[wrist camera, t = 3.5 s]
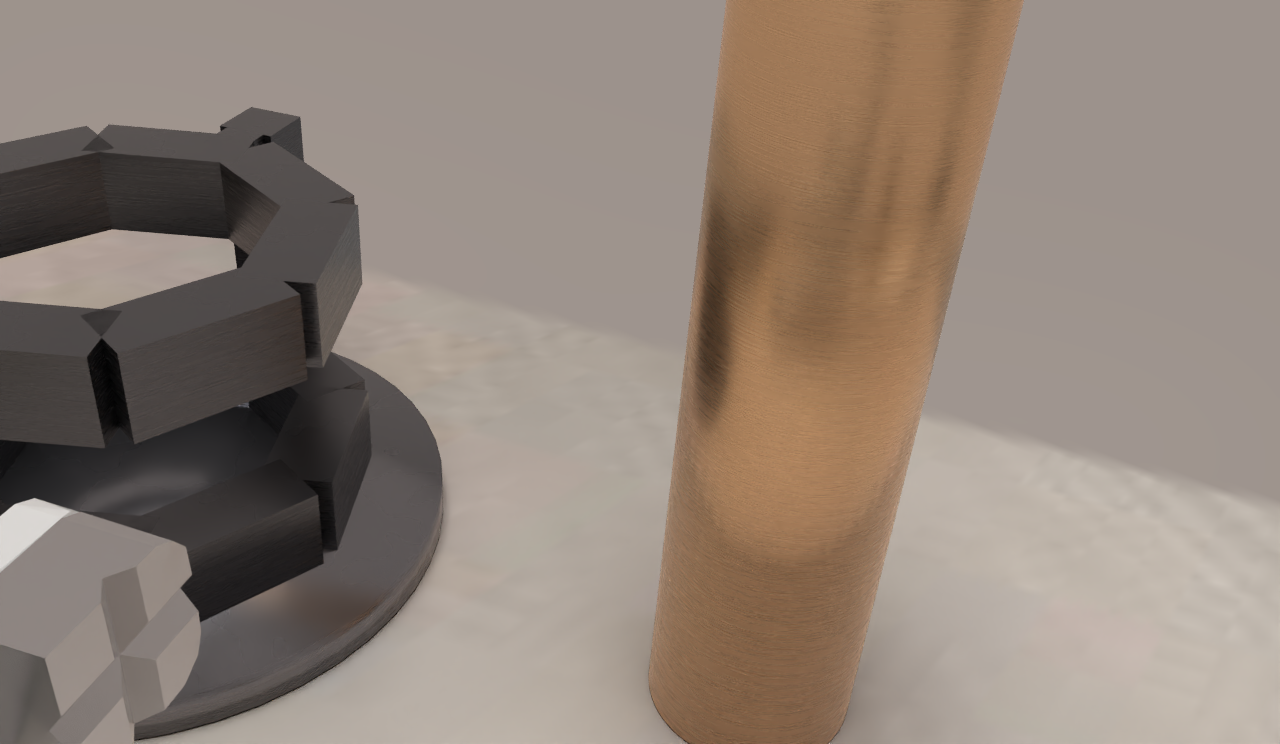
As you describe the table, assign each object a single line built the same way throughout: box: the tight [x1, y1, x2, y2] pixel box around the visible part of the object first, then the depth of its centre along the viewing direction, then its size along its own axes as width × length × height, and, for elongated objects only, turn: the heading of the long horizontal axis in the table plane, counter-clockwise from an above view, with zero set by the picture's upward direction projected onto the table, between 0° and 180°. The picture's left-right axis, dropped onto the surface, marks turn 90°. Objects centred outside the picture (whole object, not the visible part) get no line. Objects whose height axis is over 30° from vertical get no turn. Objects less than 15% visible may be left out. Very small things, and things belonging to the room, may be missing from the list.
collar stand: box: [0, 107, 443, 740], centre depth 28 cm, size 14×14×8 cm
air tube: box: [649, 0, 1024, 744], centre depth 21 cm, size 4×4×20 cm
